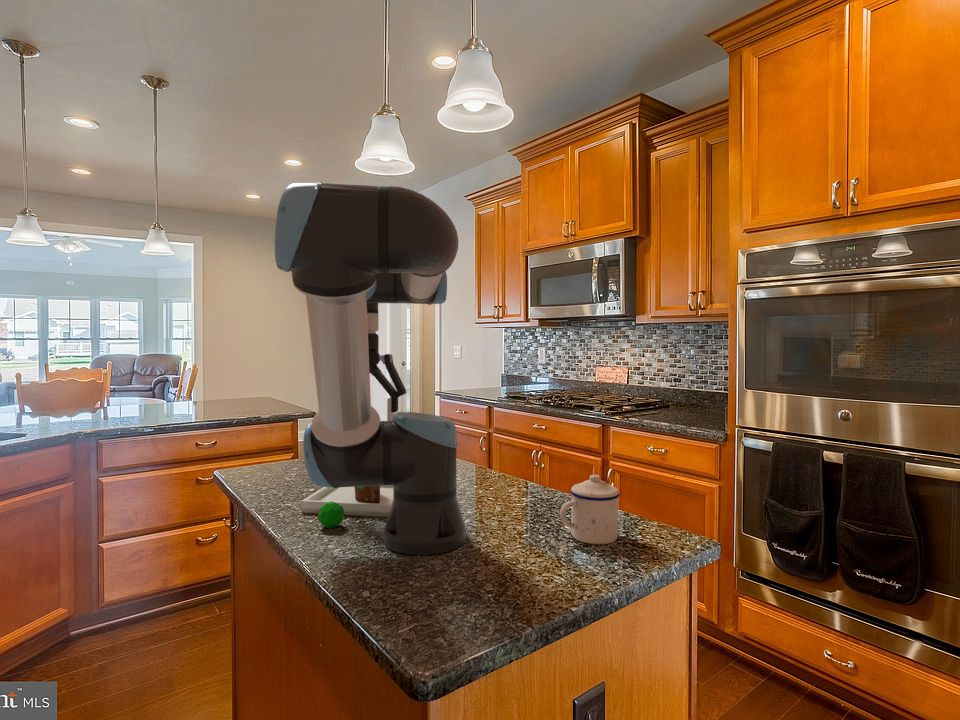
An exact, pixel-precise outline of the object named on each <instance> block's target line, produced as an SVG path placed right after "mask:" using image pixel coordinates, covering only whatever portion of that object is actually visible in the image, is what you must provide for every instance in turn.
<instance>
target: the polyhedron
mask: <svg viewBox="0 0 960 720" xmlns="http://www.w3.org/2000/svg"><path fill="white" fill-rule="evenodd" d="M344 517H345V515H344V509H343V507H342V506H340V505H339V504H337V503H335V502H328V503H326V504H325V505H323V506H322V507H321V508H320V510H319V513H317V519H318V521H319V524H321V525H323V526H324V527H326V528H328V529H333V528H334V527H335V528H336V527H338V526H339V525H340V524H341V523H342V522H343V520H344Z"/></svg>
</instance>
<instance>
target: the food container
mask: <svg viewBox="0 0 960 720" xmlns="http://www.w3.org/2000/svg"><path fill="white" fill-rule="evenodd" d="M355 499H356V501H358V502H361V503H376V504H378V503H380V486H359V487H355Z"/></svg>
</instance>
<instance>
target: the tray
mask: <svg viewBox="0 0 960 720" xmlns="http://www.w3.org/2000/svg"><path fill="white" fill-rule="evenodd" d="M328 502H335V503H337V504H339V505H340V506H342V507H343V509H344V516H356V517H357V516H358V517H359V516H360V517H361V516H362V517H377V518H378V517H379V518H380V517H381V518H388V515H389V512H390V508H391V505H392V502H393V485H385V486H384V485H383V486H380V503H378V504H376V503H361V502H358V501H356V499H355V487H340V488H333V487H320V489H319V490H317V491H315V492H313V493H312V494H310V495H308V496H307V497H305V498H303V499H302V500H301V513H305V514H319V510H320V508H321V507H322V506H323V505H325V504H326V503H328Z"/></svg>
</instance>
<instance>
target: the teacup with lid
mask: <svg viewBox="0 0 960 720" xmlns="http://www.w3.org/2000/svg"><path fill="white" fill-rule="evenodd" d="M570 494H571V500H570V501H569V500H568V501H566V502H565V503H563V504H562V506H561V507H560V511H559V517H560V521H561V522H562V524H563V525H564V526H565V527H567V528H569V529H570V533H571V534H570V535H571V536H572V537H573V538H574V539H575V540H577V541H579V542H581V543H585V544H590V545H606V544H612V543H615V541H616V540H617V539H618V536H619V535H618V533H619V532H618V529H619V528H618V527H619V497H620V491H619V489H618V488H617V487H616V486H613V485H611V484H608V483H607V482H606V481H603V480H601V476H600V475H599V474H591V475H590V476H589V479H586V480H584V481H583V482H580V483H576V484H573V486H572V487H571V489H570ZM570 507H571V508H570ZM569 508H570V509H571V510H570V511H571V512H570V513H571V514H570V515H571V516H570V517H571V521H570V522H571V523H569V522H568V519H567V517H566V513H567V511H568V509H569Z"/></svg>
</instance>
